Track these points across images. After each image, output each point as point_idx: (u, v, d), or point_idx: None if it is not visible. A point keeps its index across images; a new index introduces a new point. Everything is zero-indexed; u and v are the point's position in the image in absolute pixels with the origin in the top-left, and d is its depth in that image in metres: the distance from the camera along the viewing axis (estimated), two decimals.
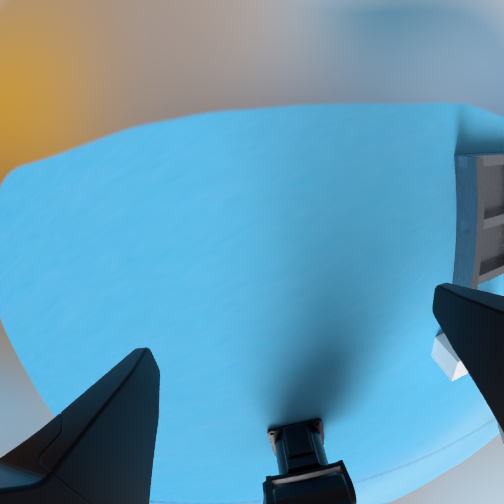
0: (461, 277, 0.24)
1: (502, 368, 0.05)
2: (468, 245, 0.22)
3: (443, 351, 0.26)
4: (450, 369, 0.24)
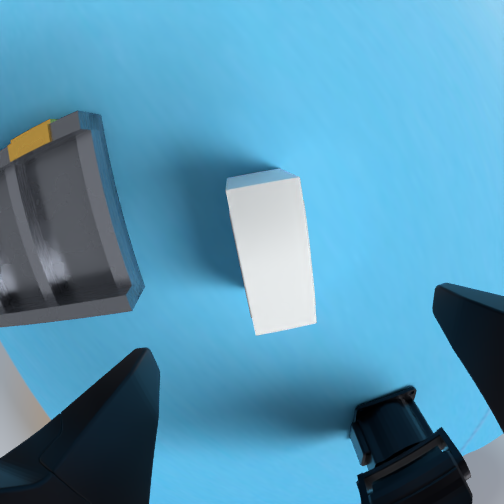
0: None
1: (502, 368, 0.05)
2: None
3: None
4: None
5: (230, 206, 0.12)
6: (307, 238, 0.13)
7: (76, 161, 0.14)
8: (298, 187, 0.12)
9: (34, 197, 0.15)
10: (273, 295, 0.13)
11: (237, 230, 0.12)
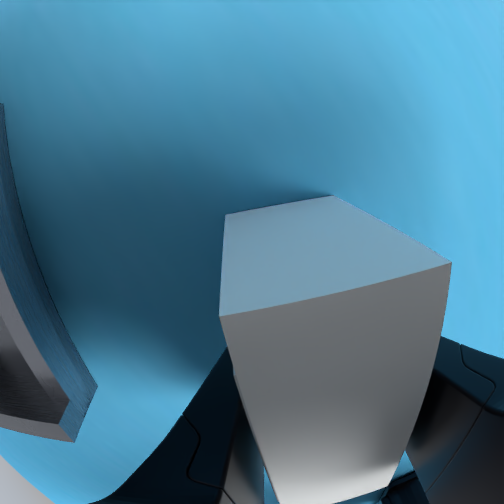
0: None
1: None
2: None
3: None
4: None
5: (237, 362, 0.03)
6: (423, 396, 0.04)
7: None
8: (442, 292, 0.03)
9: None
10: (326, 481, 0.05)
11: (256, 406, 0.04)
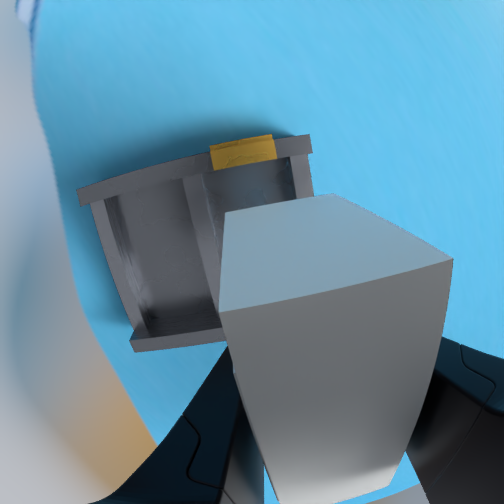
0: None
1: None
2: None
3: None
4: None
5: (237, 359, 0.03)
6: (424, 395, 0.04)
7: (274, 178, 0.17)
8: (444, 288, 0.03)
9: (213, 209, 0.18)
10: (326, 480, 0.05)
11: (256, 404, 0.04)
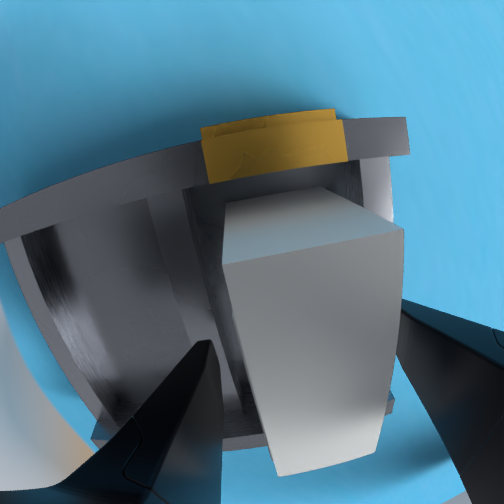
0: None
1: (450, 397, 0.05)
2: None
3: None
4: None
5: (235, 303, 0.05)
6: (394, 351, 0.05)
7: None
8: (398, 253, 0.05)
9: (208, 252, 0.10)
10: (314, 437, 0.06)
11: (250, 348, 0.05)
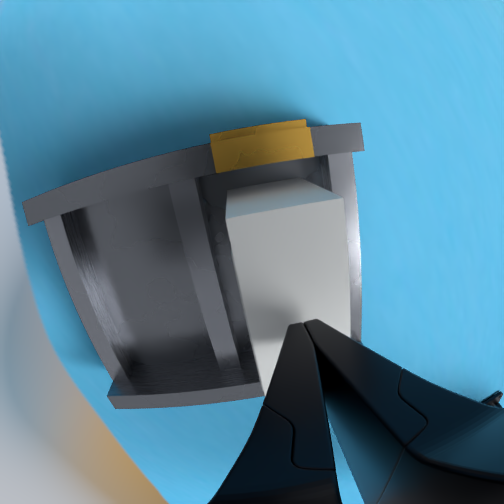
0: None
1: (352, 437, 0.05)
2: None
3: None
4: None
5: (233, 244, 0.07)
6: (348, 289, 0.08)
7: None
8: (340, 214, 0.07)
9: (213, 228, 0.12)
10: None
11: (243, 279, 0.08)
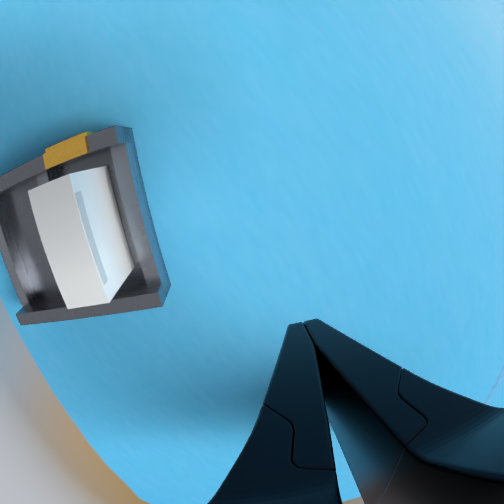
0: None
1: (352, 437, 0.05)
2: None
3: None
4: None
5: (31, 202, 0.12)
6: (82, 224, 0.13)
7: (108, 170, 0.17)
8: (69, 182, 0.12)
9: None
10: (69, 274, 0.14)
11: (38, 220, 0.13)
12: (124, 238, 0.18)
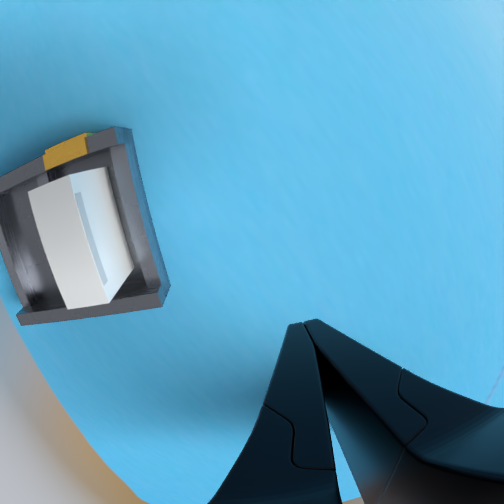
0: None
1: (352, 437, 0.05)
2: None
3: None
4: None
5: (31, 203, 0.12)
6: (81, 225, 0.13)
7: (108, 171, 0.17)
8: (68, 183, 0.12)
9: None
10: (69, 274, 0.14)
11: (38, 221, 0.13)
12: (124, 239, 0.18)
